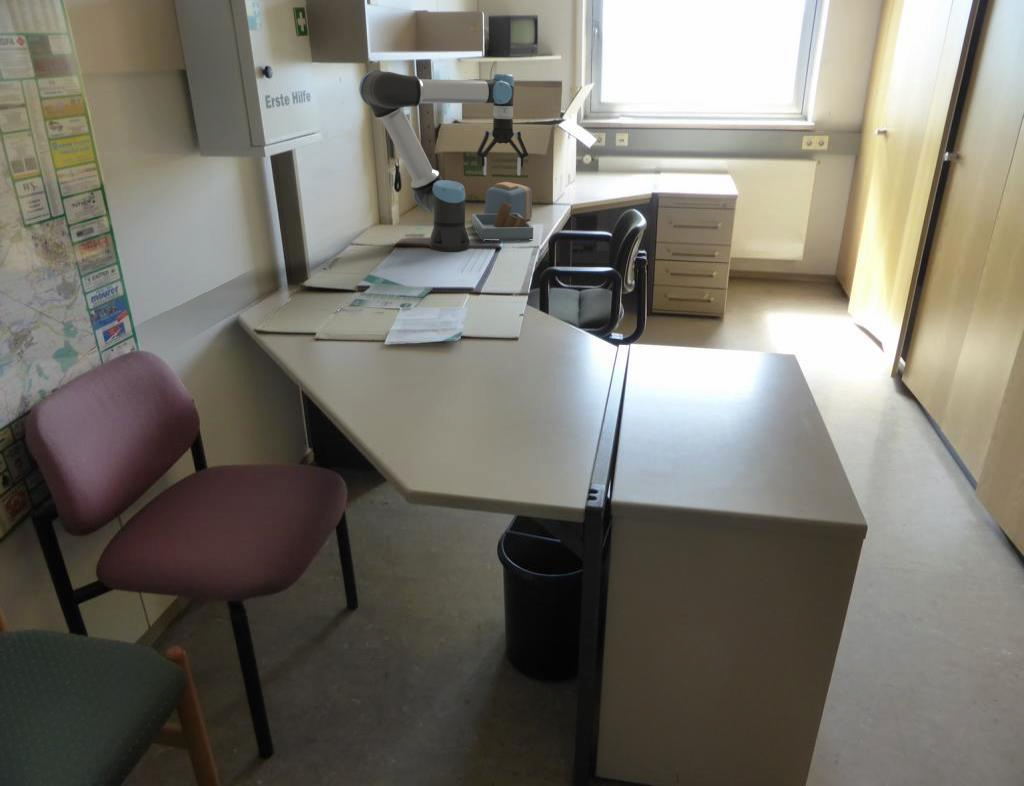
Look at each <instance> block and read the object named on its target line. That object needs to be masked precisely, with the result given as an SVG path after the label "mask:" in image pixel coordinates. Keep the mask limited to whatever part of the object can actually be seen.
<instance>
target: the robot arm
mask: <svg viewBox="0 0 1024 786" xmlns="http://www.w3.org/2000/svg"><path fill="white" fill-rule="evenodd" d="M514 78H515V77H514V75H513V74H511V73H510V74H509V73H495V74H494V76H493V79H485V78H484V79H483V78H482V79H481V78H480V79H478V78H472V79H433V78H432V79H430V78H429V79H425V78H424V79H423V78H422V79H420V78H419V77H418V76H417V75H407V74H400V73H396V72H392V71H382V70H378V69H377V70H372V71H369V72H367V73H365V74H364V75H363V76H362V78H361V80H360V83H359V86H358V90H359V95H360V98H361V99H362V101H363V102H364V103H365V104H366V105H368V106H369V107H370V110H371V111H372V113H373V116H374V117H375V119H377V120H380V121H382V123H383V126H384V127H385V129H386V131H387V133H388V135H389V137H390V139H391V141H392V142H393V145H394V146H395V150H397V153H398V154H399V156H400V158H401V160H402V162H403V164H404V166H405V168H406V170H407V172H408V173H409V176H410V178H411V179H412V180H411V183H410V186H411V188H412V191H413V193H412V194H413V199H414V201H415V203H416V204H417V205H418V207H420V208H421V209H422V210H424V211H426V212H430V213H432V214H433V228H432V231H431V234H430V237H429V241H428V242H429V246H428V247H429V248H430V249H431V250H435V251H438V252H439V251H440V252H459V251H460V252H461V251H466V250H467V249H469V248H470V247H471V246H470V244H471V243H470V238H469V235H468V231H467V227H466V190H465V186H464V184H462V183H461V182H458V181H454V180H450V179H446V180H445V179H444V180H443V177H442V176H441V174H440V172H439V170H436V169H434V168H433V167H432V165H431V163H430V161H429V159H428V157H427V155H426V153H425V151H424V148H423V146H422V145H421V143H420V140H419V138H418V135H417V134H416V132H415V130H414V129H413V126H412V124H411V122H410V120H409V118H408V116H407V114H406V111H405V110H404V108H409V107H411V108H412V107H418V106H420V104H493V114H492V115H493V117H494V118H493V119H492V120H493V121H492V122H493V123H492V124H493V125H492V126H493V128H492V131H489V130H485V131H484V136H483V138H482V141H481V143H480V145H479V146H478V149H477V151H476V156H477V157H480V166H481V167H483V171H482V172H483V173H482V174H483V175H484V176H487V166H488V165H487V161H488V160H487V157H486V156H487V155H488V154H489V153H490V151H491V150H492V149H493V148H494V146H495V145H496V144H497V143H498V144H504V145H505V144H506V145H507V144H509V145H510V146H511V147H512V149H513V150H514V151H515V153H516V154H517V163H516V165H517V167H516V175H517V176H521V167H524V158H526V157H528V156H529V153H528V151H527V148H526V146H525V144H524V141H523V139H522V134H521V131H519V130H517V131H513V130H514V129H513V127H514V126H513V125H514V119H513V116H514V95H515V94H514V93H515V92H514V91H515V90H514V89H515V80H514ZM491 136H492V137H493V139H492V140H491V142H490V143H489V144H488V145H487V147H485V146H486V144H487V142H488V140H489V138H490V137H491ZM513 137H515V138H517V141H518V143H519V146H520V149H521V150H520V149H519V148H518V146H517V145H516V144H515V142H514V141H513V139H512V138H513Z"/></svg>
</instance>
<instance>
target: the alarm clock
mask: <svg viewBox="0 0 1024 786" xmlns="http://www.w3.org/2000/svg"><path fill="white" fill-rule="evenodd" d="M532 201H533V198H532V189H531V188H530V187H529V186H526V185H525V184H524V185H523V184H521V183H514V182H510V181H509V182H508V181H502V182H499V183H498V182H497V183H495V184H494V186H492V187H490V188H487V190H486V193H485V201H484V211H483V212H484V213H483V214H498V212H499V210H500V207H501V205H502V203H503V202H504V203H506V204H508V205H511V206H512V208H511V210H510V213H509V214H514V213H519V214H520V215H521V216H522V217H523V218H524V219H526V220H527V221H529V220H531V219H532V218H533V204H532Z"/></svg>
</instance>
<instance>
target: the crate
mask: <svg viewBox="0 0 1024 786" xmlns="http://www.w3.org/2000/svg"><path fill="white" fill-rule="evenodd" d="M497 215H498V214H484V213H472V215H471V227H472V228H473V230H474V231H475V230H476V231H477V232H478V234H479V235H480V236H481V238H482V239H483V240H484V239H499V240H502V241H501V242H507V241H509V242H510V241H514V242H515V241H516V240H520V241H530V240H529V239H533V240H534V226H533V225H531V224H530V223H529V222H528V221H527V222H526V224H525V227H503V228H496V227H494V226H493V225H494V222H495V220H496V217H497ZM510 215H512V216H514V217H516V218H517V217H518V216H519V217H522V216H521V215H520V214H519V213H514V214H509V215H508V217H509V216H510ZM508 217H507V218H508ZM522 218H523V217H522ZM476 231H475V232H476ZM477 232H476V233H477ZM478 234H477V235H478ZM479 235H478V236H479ZM480 236H479V237H480ZM481 238H480V239H481ZM482 239H481V240H482Z"/></svg>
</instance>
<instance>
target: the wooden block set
mask: <svg viewBox="0 0 1024 786" xmlns="http://www.w3.org/2000/svg"><path fill="white" fill-rule="evenodd" d="M511 208H512V206H511V205H508V204H506V203H504V202H503V203H502V205H501V207H500V210H499V212H498V215H497V217H496V220H495V222H494V225H493V226H494V227H496V228H503V227H525V224H526V222H528V220H526V219H524V218H522V217H519V216H518V217H517V218H516V217H514V216H512V215H510V216H509V217H508V215H509V213H510V210H511ZM507 217H508V218H507Z"/></svg>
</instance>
